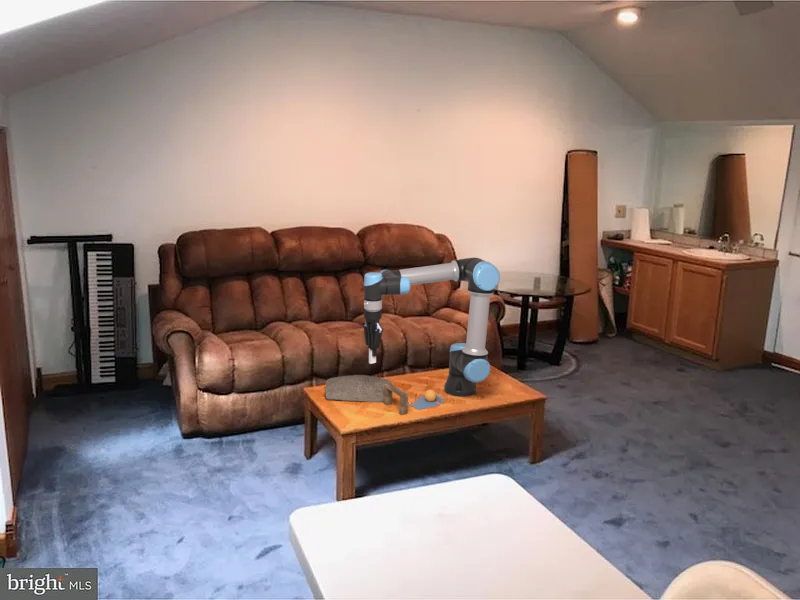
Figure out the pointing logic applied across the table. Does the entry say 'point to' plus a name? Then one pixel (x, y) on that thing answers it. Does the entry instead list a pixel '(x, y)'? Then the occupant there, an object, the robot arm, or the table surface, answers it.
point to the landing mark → (423, 403)
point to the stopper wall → (439, 399)
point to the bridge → (403, 395)
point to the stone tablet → (356, 388)
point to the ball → (430, 395)
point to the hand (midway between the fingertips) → (372, 362)
